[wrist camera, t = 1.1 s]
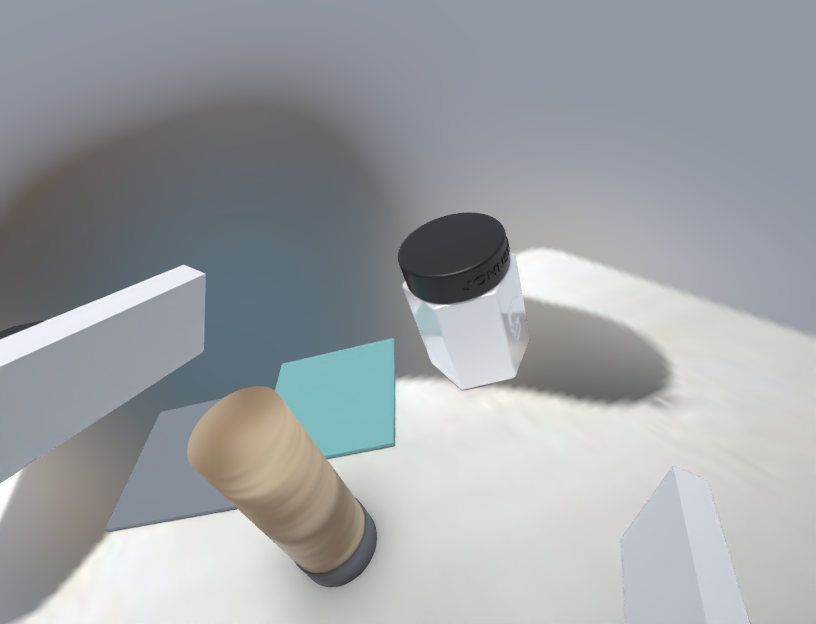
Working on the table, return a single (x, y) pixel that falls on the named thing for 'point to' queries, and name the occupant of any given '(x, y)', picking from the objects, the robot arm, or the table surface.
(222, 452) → the banded sleeve
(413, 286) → the jar
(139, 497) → the slate seat
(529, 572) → the table surface
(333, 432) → the teal seat
